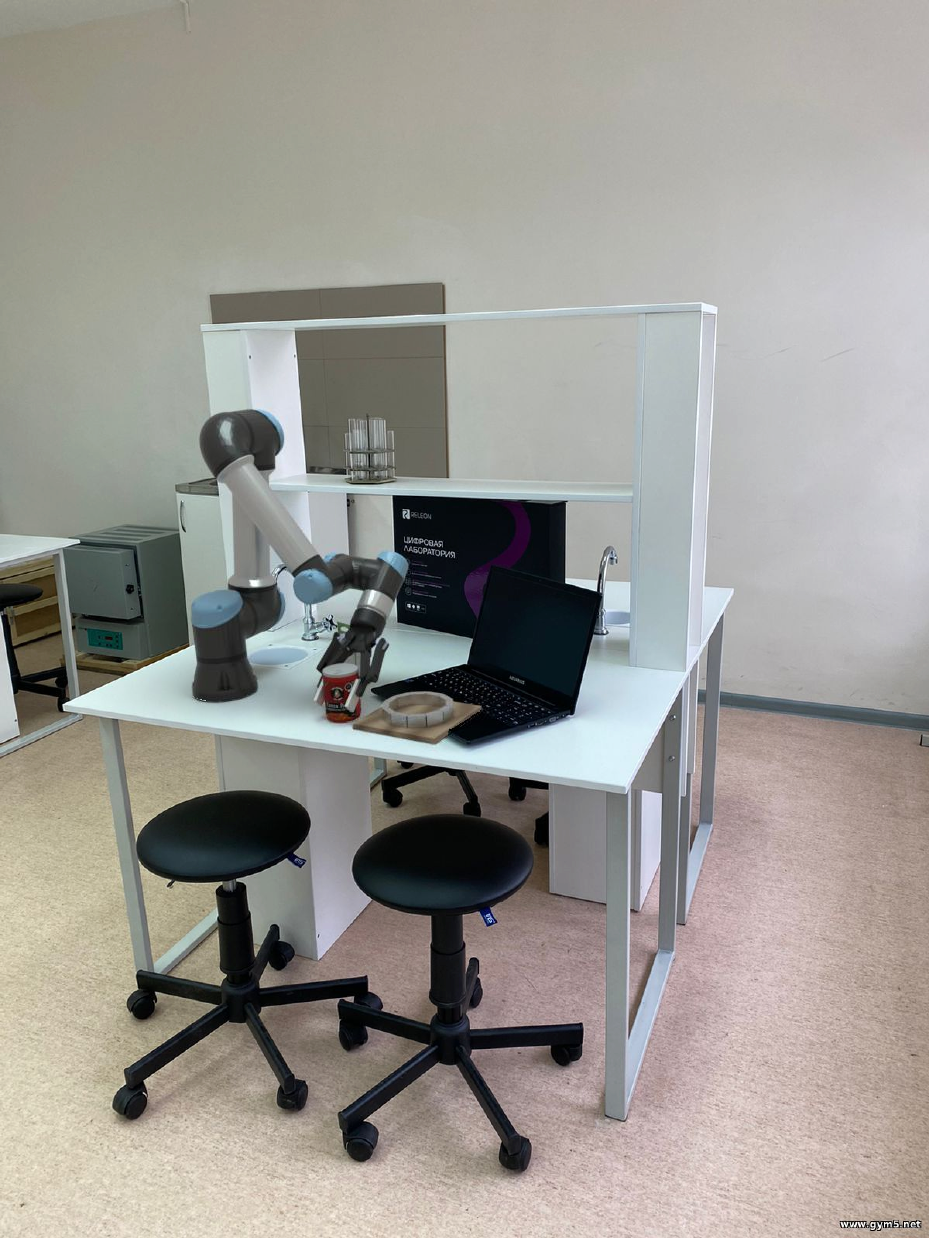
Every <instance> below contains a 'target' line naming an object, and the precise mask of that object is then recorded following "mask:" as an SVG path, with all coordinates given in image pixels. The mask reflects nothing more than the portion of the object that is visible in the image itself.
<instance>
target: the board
mask: <svg viewBox="0 0 929 1238" xmlns="http://www.w3.org/2000/svg"><path fill="white" fill-rule="evenodd" d="M439 709H441V708H440V707H438V706H432V705H410V706H406V707H402V708H398V709H397V710H395V712H399V713H405V714H425V713H429V712H433V711H437V710H439ZM481 709H483V708H482V705H476V704H470V703H465V702H460V701H459V702H458V701H453V717H452V718H451V719H449V720H448V721H446V722H445V723H443V724H439V725H435V726H431V727H426V728H403V727H398V726H392V725H390V724H388V723H387V722H385V721H384V720H383V719H382V706H380V707H378V708H377V709H375V710H374V711H372V712H371V713H368V714H366V715H365V716H363V717H360V719H357V720H355V722H353V723H352V729H353V730H356V731H363V732H368V733H373V734H378V735H384V736H389V737H395V738H399V739H405V740H410V741H415V742H420V743H426V744H431V745H436V744H437V743H439V742H440V741H442V740H443V739H444V738H446V737H447V736H449V735H448V731H449V729H452V728H454V727H455V726H457V725H459V724H460V723H462V722H464V721H465V720H467V719H469V718H470V717H471V716H472V715H474V714H476V713H477V712H480V710H481ZM480 713H481V712H480Z"/></svg>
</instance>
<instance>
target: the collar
mask: <svg viewBox="0 0 929 1238" xmlns="http://www.w3.org/2000/svg"><path fill="white" fill-rule="evenodd" d="M453 702H454V699H453V698H451V697H450V696H448V695H446V694H444V693H440V692H435V691H434V692H433V691H410V692H404V693H401V694H399V693H398V694H396V695H393V696H391V697H389V698H387V699H385V700H384V701H383V702H382V705H381V707H382V719H383V720H384V721H385V722H387V723H388V724H390V725H392V726H398V727H403V728H426V727H431V726H435V725H439V724H443V723H445V722H446V721H448V720H449V719H451V718H452V717H453ZM410 705H432V706H438V707H440V708H441V709H439V710H437V711H433V712H429V713H425V714H405V713H399V712H395V710H397V709H398V708H402V707H406V706H410Z"/></svg>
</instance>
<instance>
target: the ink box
mask: <svg viewBox="0 0 929 1238" xmlns="http://www.w3.org/2000/svg"><path fill="white" fill-rule="evenodd" d="M336 624H337V625H336V626H337V627H336V628H337V632H338V633H339V634H344V633H346V632H347V630H346V631H345V630H343V629H342V628H345V629H349V628H350V624H349V623H344V622H342V621H336ZM345 641H346V640H344V642H345ZM340 649H341V648H340ZM347 649H348V650H349V648H348V647H347ZM344 663H348V664H354V665H356V666H358V670H359V677H360V653H354V654H353V655H352V656H349V657H348V658H347V659H346V661H345V662H344Z"/></svg>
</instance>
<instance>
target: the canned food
mask: <svg viewBox="0 0 929 1238" xmlns="http://www.w3.org/2000/svg"><path fill="white" fill-rule="evenodd" d="M322 674H323V688H324V700H325V701H324V709H325V710H324V711H325V717H326V720H328V721H329V722H331V723H334V724H337V723H338V724H339V723H340V724H341V723H343V724H345V723H350V722H353V721H357V720H359V718H361V715H362V703H361V699H362V698H361V697H359V700H358V702H357V705H356V707H355V710H354V712H350V711H349V710H348V709H347V708H346V707H345V704H346V702H347V699H348V697H349V695H350V692H351V690H352V687H353V685H354V683H355V680H356V679H359V680H360V678H359V677H358V676H359V670H358V666H356V665H354V664H348V663H341V664H334V665H330V666H328V667H325V668H324V669H323V673H322ZM322 674H321V675H322Z"/></svg>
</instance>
